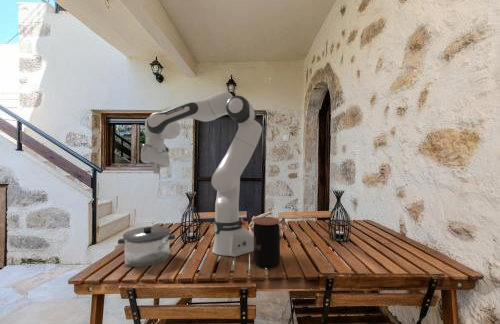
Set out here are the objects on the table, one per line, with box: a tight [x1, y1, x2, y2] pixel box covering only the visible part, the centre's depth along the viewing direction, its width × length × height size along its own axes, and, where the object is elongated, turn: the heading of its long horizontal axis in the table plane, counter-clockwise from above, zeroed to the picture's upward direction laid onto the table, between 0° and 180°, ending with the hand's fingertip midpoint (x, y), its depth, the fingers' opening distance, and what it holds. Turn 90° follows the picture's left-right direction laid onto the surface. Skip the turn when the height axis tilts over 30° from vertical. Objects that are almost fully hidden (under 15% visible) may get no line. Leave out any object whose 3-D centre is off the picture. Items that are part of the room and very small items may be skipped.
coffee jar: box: [253, 216, 281, 269], centre depth 101 cm, size 11×11×18 cm
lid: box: [122, 225, 171, 241], centre depth 108 cm, size 20×19×3 cm
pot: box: [117, 234, 176, 268], centre depth 108 cm, size 18×23×10 cm
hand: (156, 173), depth 124 cm, fingers closed
